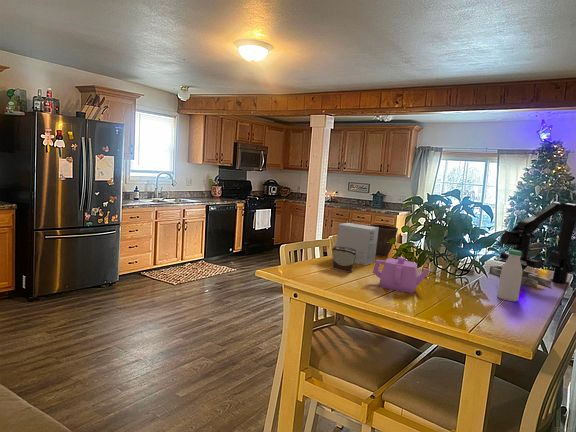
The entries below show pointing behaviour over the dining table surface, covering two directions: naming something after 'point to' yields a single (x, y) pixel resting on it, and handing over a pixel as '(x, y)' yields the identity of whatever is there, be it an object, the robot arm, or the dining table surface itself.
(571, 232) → the robot arm
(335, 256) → the food container
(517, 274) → the milk bottle
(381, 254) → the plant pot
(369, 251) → the supplement box
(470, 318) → the dining table surface
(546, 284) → the trap lane
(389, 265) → the teakettle
